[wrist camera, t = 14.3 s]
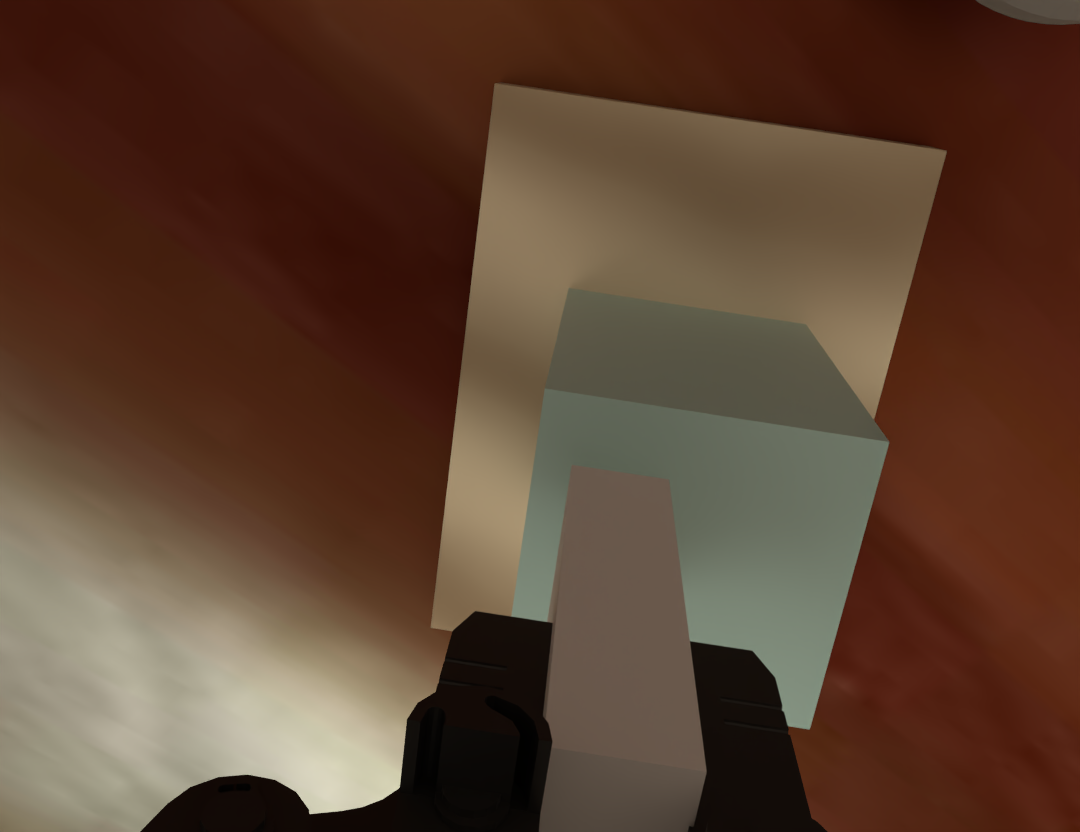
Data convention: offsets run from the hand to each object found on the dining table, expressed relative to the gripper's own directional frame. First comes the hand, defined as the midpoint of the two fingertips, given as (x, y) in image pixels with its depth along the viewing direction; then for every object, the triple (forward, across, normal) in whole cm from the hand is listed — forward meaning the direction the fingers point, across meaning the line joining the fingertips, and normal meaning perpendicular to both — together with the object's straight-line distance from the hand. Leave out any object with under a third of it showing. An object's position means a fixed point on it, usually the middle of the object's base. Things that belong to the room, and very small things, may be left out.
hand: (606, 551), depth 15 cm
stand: (+10, +2, -1) cm, 10 cm away
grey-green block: (+9, +2, -1) cm, 9 cm away
